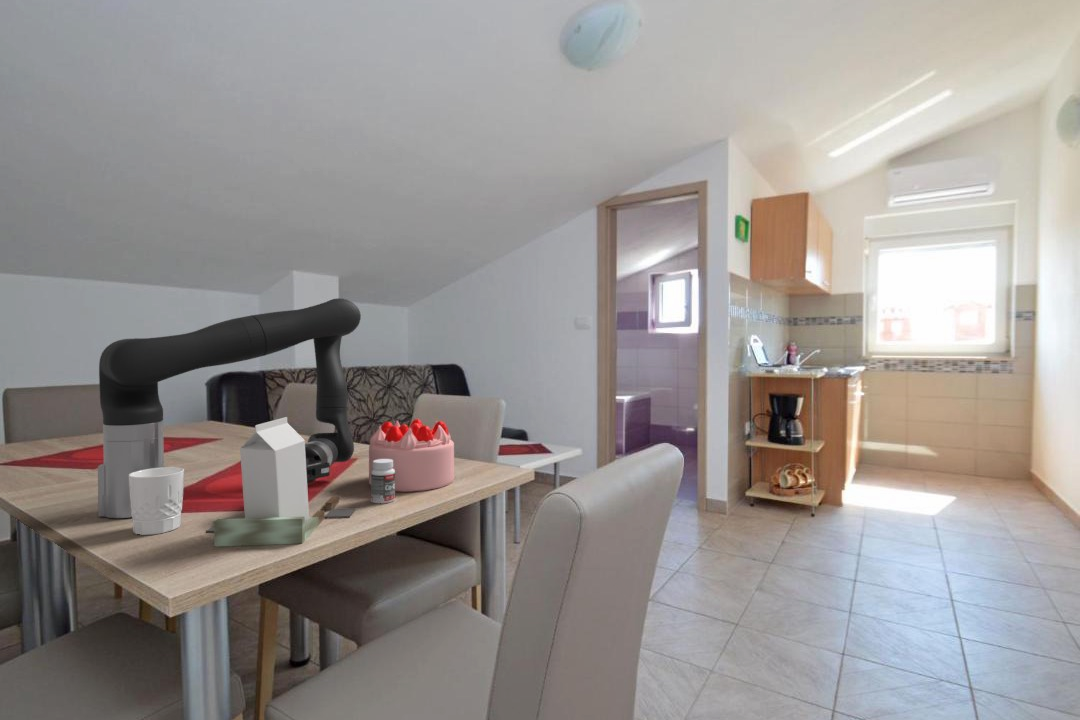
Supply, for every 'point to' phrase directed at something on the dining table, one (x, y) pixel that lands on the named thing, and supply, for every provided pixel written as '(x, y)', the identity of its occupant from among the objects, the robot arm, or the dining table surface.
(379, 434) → the cake
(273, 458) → the milk carton
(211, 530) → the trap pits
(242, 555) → the dining table surface
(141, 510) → the white cup
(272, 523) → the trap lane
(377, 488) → the pill bottle
